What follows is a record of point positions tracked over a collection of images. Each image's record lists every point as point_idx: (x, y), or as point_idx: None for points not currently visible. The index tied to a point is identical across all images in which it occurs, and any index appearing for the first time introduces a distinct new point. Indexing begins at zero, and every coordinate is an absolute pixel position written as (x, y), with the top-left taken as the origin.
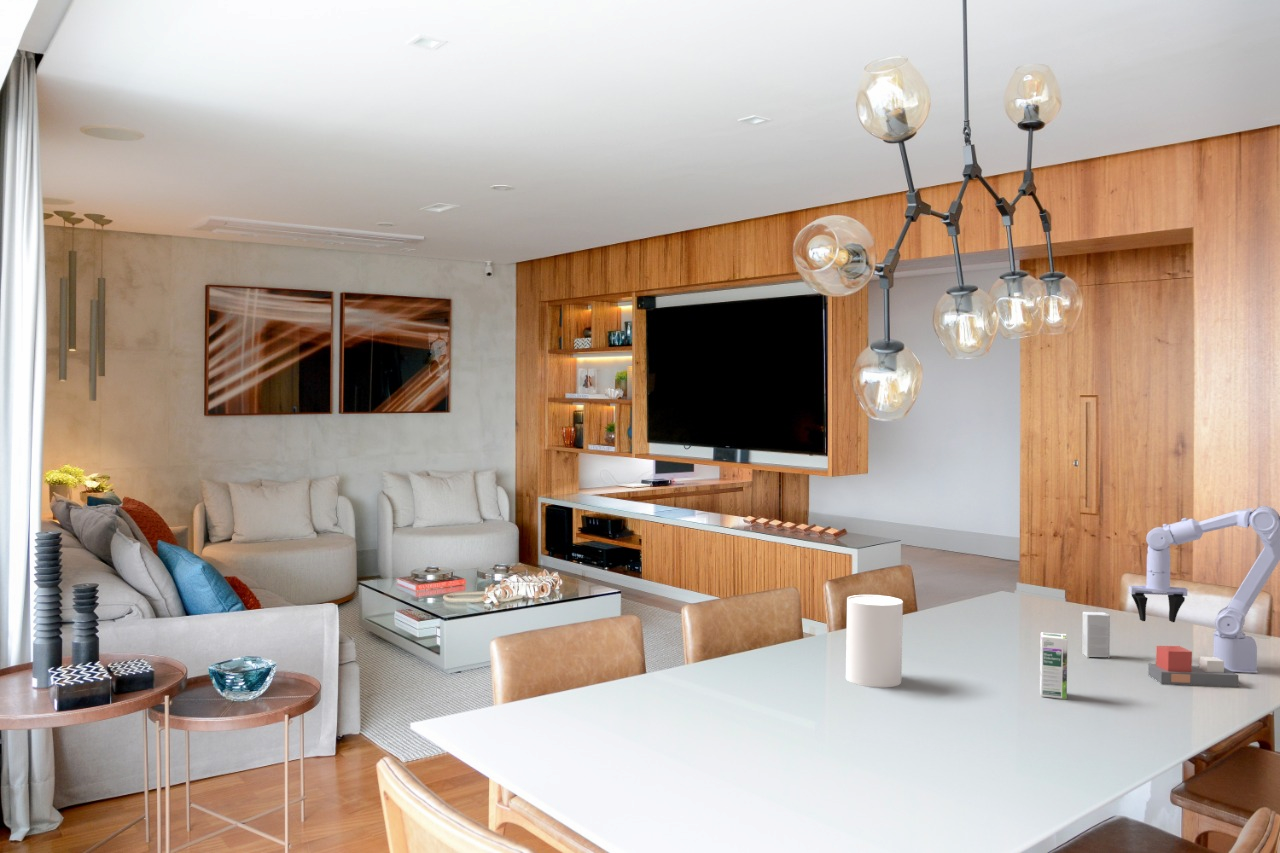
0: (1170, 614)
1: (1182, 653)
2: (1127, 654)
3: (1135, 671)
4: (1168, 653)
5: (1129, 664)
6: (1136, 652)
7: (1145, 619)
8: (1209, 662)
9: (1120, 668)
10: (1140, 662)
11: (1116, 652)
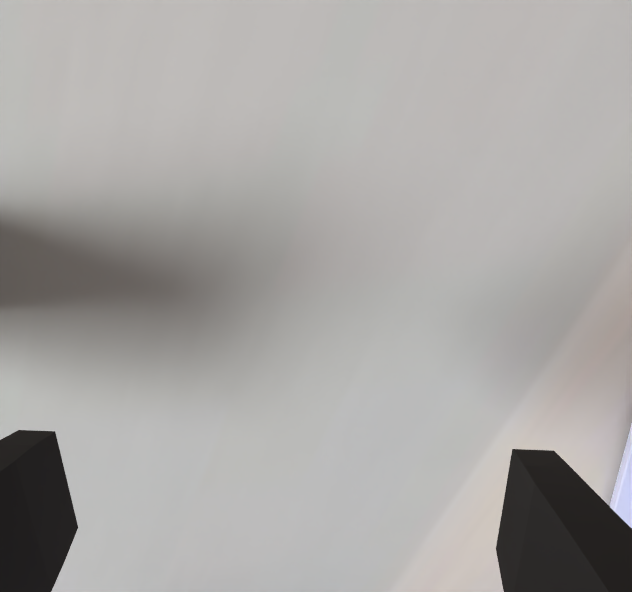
0: (547, 584)
1: None
2: (122, 144)
3: (81, 563)
4: None
5: (76, 434)
6: (224, 45)
7: (64, 558)
8: None
9: None
10: (162, 379)
11: (39, 80)
